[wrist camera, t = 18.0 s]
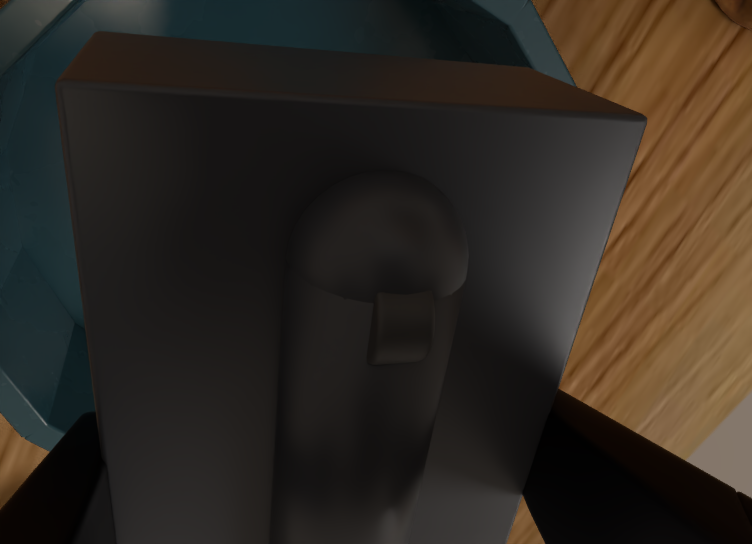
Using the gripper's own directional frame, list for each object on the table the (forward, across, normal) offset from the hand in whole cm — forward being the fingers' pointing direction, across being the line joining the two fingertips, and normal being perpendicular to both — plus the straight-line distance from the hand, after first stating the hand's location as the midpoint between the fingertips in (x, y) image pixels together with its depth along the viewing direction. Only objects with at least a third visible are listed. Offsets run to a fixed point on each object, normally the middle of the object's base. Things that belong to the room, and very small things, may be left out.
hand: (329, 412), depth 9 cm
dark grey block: (+2, 0, 0) cm, 2 cm away
